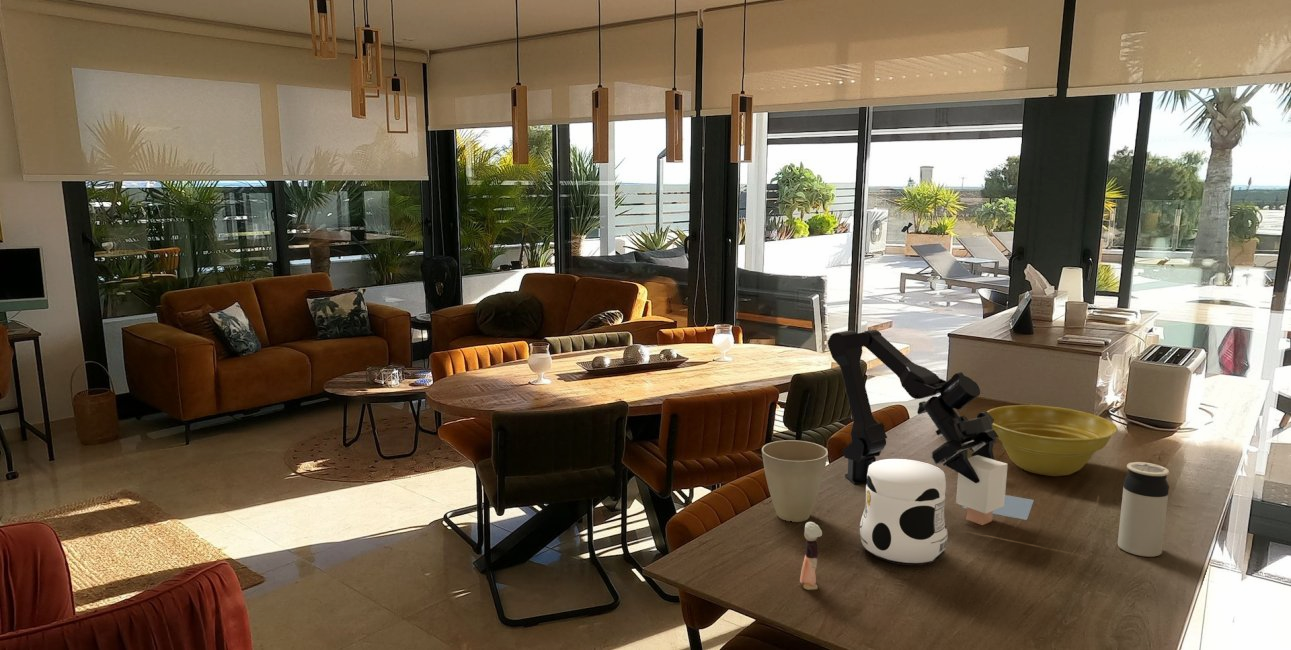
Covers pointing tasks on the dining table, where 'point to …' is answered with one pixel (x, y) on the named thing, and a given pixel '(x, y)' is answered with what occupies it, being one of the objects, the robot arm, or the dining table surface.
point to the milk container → (904, 512)
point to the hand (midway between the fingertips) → (987, 478)
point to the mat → (1014, 507)
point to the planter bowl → (1050, 437)
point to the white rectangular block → (983, 485)
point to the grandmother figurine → (810, 556)
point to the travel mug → (1143, 509)
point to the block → (978, 516)
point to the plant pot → (794, 476)
